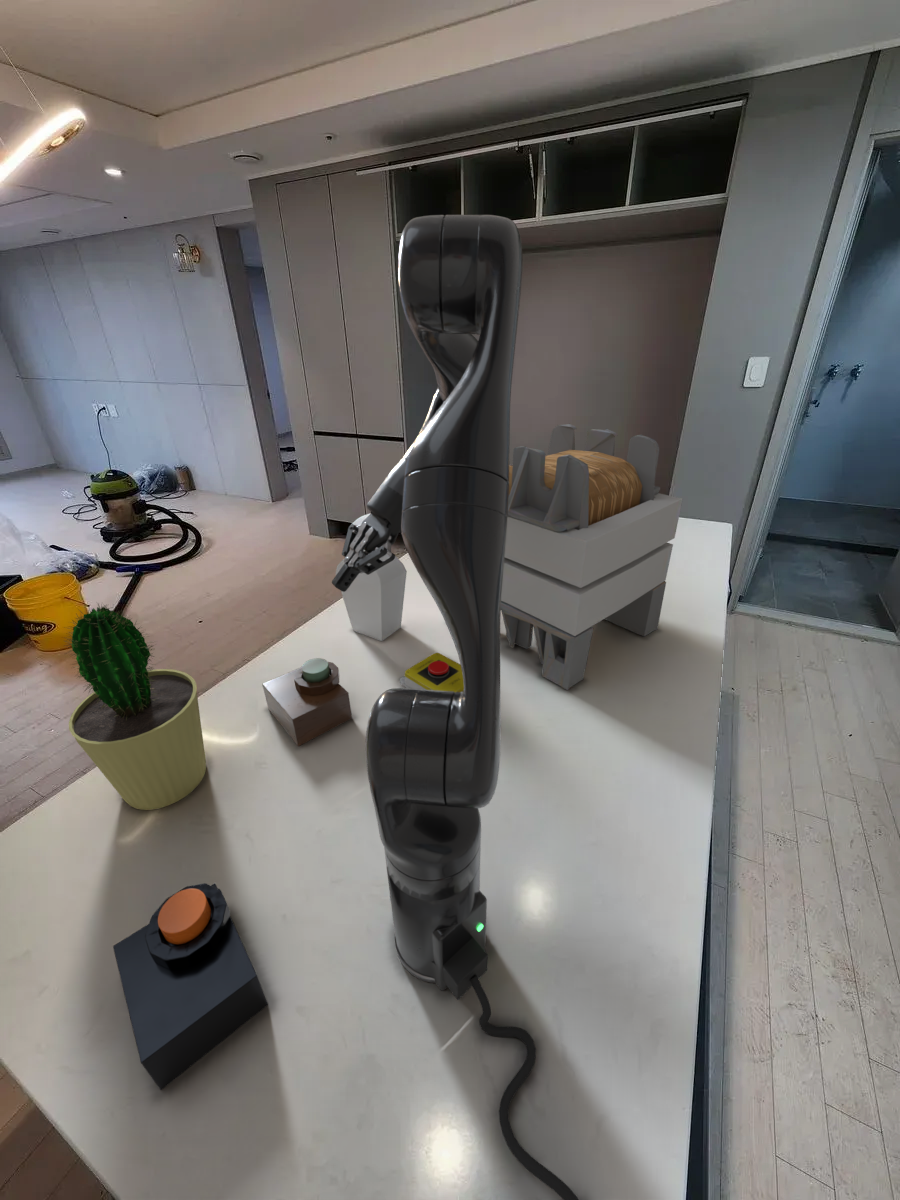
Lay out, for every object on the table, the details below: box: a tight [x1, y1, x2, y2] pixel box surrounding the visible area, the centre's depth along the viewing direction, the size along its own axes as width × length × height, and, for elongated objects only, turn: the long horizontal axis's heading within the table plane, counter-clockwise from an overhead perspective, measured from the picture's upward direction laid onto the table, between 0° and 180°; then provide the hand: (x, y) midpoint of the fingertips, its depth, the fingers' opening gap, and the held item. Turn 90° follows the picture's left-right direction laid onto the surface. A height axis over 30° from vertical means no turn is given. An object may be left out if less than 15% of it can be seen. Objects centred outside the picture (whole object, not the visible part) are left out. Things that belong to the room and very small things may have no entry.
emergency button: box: [399, 652, 464, 692], centre depth 93 cm, size 9×4×15 cm
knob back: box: [301, 657, 330, 683], centre depth 86 cm, size 4×4×2 cm
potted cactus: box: [60, 602, 207, 811], centre depth 69 cm, size 15×15×30 cm
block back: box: [262, 661, 353, 747], centre depth 87 cm, size 12×11×8 cm
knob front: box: [158, 888, 211, 945], centre depth 51 cm, size 4×4×2 cm
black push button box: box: [112, 882, 269, 1091], centre depth 50 cm, size 12×10×8 cm
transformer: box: [501, 423, 684, 691], centre depth 103 cm, size 34×33×41 cm
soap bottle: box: [335, 512, 407, 642], centre depth 107 cm, size 12×10×26 cm
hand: (337, 587), depth 78 cm, fingers closed
